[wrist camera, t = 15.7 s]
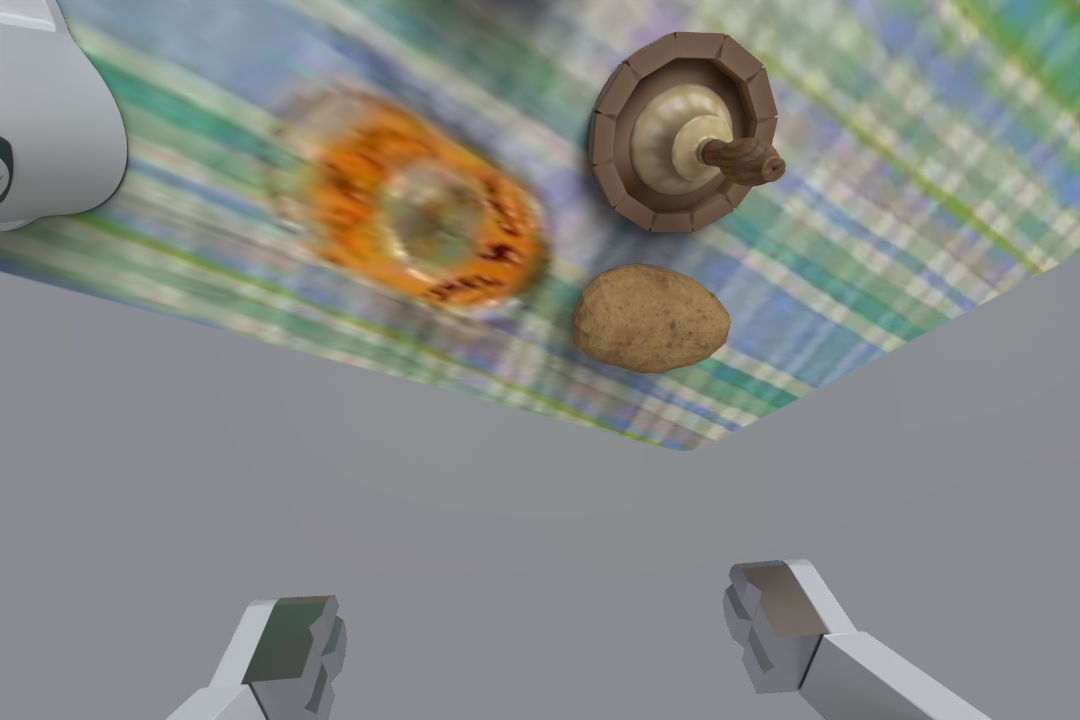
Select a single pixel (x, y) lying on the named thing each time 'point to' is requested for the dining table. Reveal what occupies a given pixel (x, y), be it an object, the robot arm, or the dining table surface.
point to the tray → (636, 84)
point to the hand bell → (696, 144)
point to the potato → (648, 319)
